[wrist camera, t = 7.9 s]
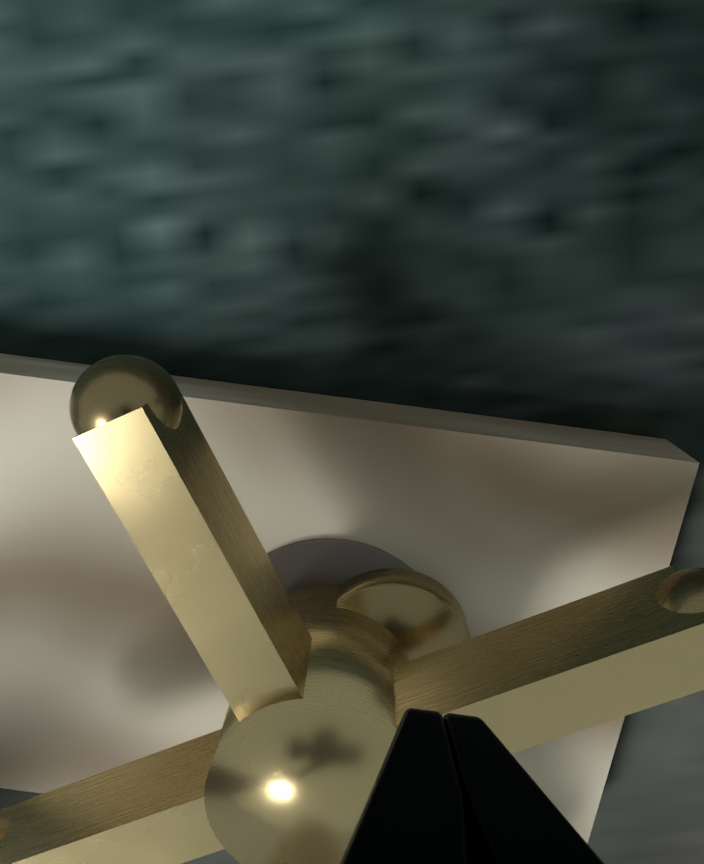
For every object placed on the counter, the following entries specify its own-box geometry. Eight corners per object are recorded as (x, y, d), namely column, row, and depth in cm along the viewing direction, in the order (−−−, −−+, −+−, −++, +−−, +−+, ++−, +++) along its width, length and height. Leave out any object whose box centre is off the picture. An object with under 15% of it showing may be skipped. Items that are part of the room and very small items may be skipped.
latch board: (564, 806, 22) (609, 940, 18) (-151, 717, 22) (-275, 831, 18) (666, 438, 18) (752, 500, 14) (-197, 328, 18) (-367, 356, 14)
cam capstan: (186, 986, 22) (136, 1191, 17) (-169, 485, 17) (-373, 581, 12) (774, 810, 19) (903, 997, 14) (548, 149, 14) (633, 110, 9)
